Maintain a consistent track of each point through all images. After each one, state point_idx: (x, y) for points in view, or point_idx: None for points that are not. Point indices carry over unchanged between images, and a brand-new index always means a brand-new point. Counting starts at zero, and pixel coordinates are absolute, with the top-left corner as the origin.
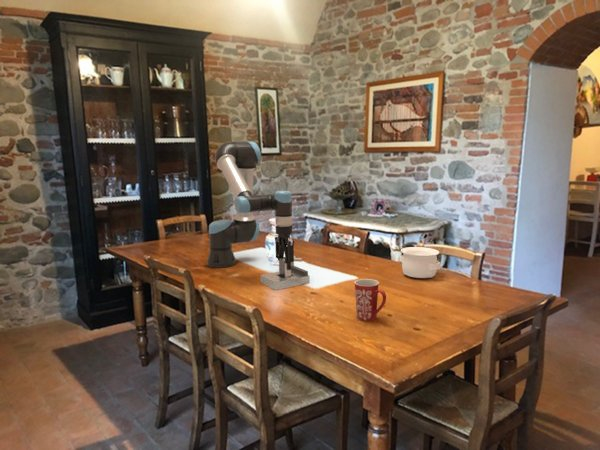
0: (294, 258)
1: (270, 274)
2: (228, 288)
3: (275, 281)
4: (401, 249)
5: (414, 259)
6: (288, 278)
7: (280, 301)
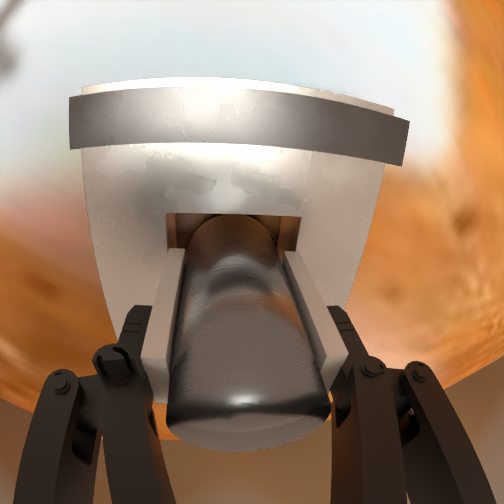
0: None
1: None
2: (166, 424)
3: None
4: None
5: None
6: (324, 289)
7: (407, 357)
